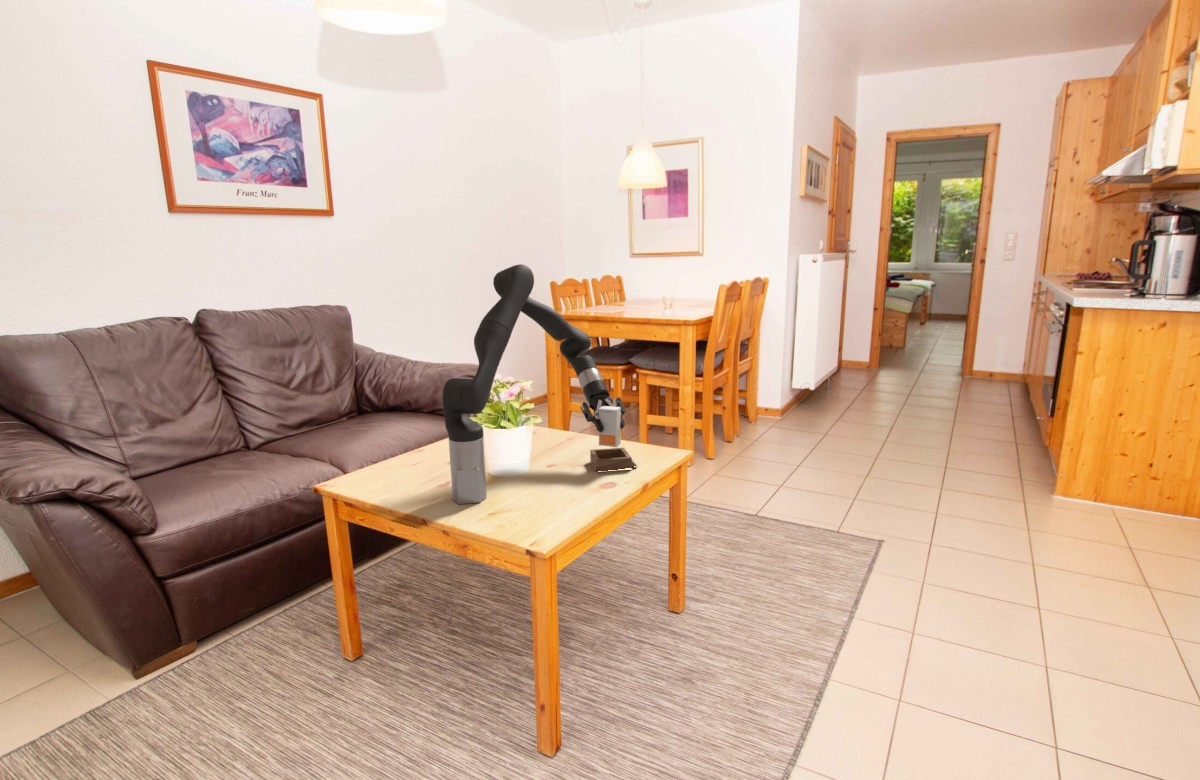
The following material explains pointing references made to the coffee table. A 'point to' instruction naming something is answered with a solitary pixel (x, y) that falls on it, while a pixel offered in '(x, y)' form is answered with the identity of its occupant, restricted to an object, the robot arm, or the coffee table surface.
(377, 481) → the coffee table surface
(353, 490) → the coffee table surface
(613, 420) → the skincare box
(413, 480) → the coffee table surface
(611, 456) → the box
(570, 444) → the coffee table surface
